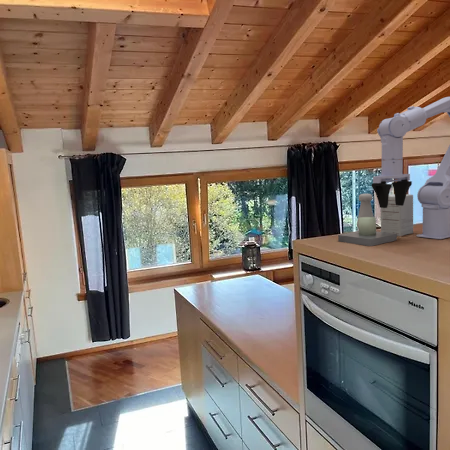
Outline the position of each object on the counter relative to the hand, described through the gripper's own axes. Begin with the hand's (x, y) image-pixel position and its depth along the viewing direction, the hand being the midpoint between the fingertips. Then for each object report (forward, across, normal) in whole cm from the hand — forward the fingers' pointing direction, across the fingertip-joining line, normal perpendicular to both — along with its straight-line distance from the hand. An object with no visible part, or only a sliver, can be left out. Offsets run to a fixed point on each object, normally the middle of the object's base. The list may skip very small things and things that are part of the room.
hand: (391, 206), depth 127 cm
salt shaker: (+11, -9, -17) cm, 22 cm away
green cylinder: (+8, +4, -6) cm, 11 cm away
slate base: (+10, +4, -6) cm, 13 cm away
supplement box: (+10, -12, -7) cm, 18 cm away
